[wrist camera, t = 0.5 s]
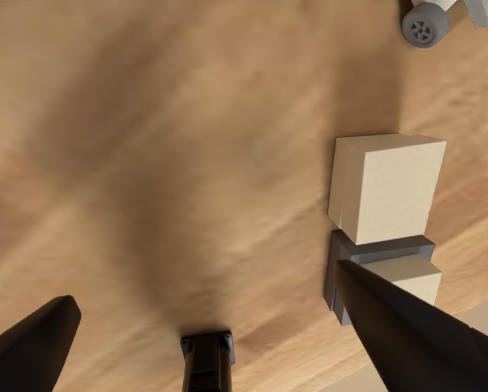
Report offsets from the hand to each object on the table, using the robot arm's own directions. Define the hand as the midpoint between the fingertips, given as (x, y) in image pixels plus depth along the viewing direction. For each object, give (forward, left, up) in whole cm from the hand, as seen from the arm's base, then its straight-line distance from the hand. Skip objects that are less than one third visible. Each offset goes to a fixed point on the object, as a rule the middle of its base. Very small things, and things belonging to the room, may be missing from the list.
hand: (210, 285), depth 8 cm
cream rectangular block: (-13, -16, -10) cm, 23 cm away
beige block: (-2, -14, -14) cm, 20 cm away
